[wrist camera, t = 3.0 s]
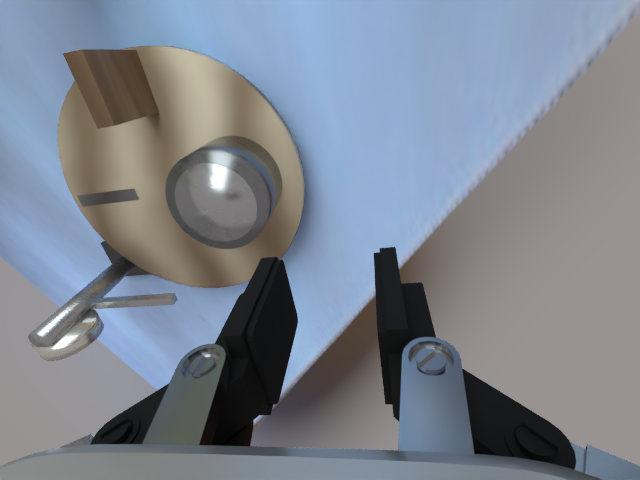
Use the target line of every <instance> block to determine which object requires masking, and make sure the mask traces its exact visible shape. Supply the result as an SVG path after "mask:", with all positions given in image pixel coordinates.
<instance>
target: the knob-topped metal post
mask: <svg viewBox="0 0 640 480" xmlns="http://www.w3.org/2000/svg"><path fill="white" fill-rule="evenodd" d="M101 245H102V246H103V248H104V250H105V252H106V254H107V256H108V257H109V259H110V261H111V263H112V265H111V266H109V267H108V268H107V269H106V270H105V271H103V272H102V273H101V274H100V275H99V276H98V277H96V278H95V279H94V280H93V281H92V282H90V283H89V284H88V285H87V286H86V287H85V288H83V289H82V290H81V291H80V292H79V293H78V294H76V295H75V296H74V297H73V298H72V299H70V300H69V301H68V302H67V303H66V304H65V305H63V306H62V307H61V308H60V309H59V310H58V311H56V312H55V313H54V314H53V315H52V316H51V317H49V318H48V319H47V320H46V321H44V322H43V323H42V324H41V325H40V326H39V327H37V328H36V329H35V330H34V331H33V332H32V333H30V334H29V336H28V338H29V340H30V342H31V343H32V346H33V347H34V349H35V350H36V351H37V353H38V354H39V355H40V356H41V358H42V359H44V360H46V361H55V360H60V359H63V358H66V357H69V356H71V355H73V354H75V353H77V352H79V351H81V350H82V349H84V348H86V347H87V346H88V345H90V344H91V343H92V342H93V341H95V340H96V339H97V338H98V336H99V335H100V334H101V332H102V330H103V328H104V324H103V322H102V320H101V319H100V317H99V315H98V314H97V312H96V311H95V310H93V309H102V308H119V307H137V306H154V305H172V304H175V302H176V301H177V300H178V299H177V297H176V295H175V293H172V294H156V295H140V296H125V297H109V298H103V297H104V296H105V295H106V294H107V293H108V292H109V291H110V290H111V289H112V288H113V287H115V286H116V285H117V284H118V283H119V282H120V281H121V280H122V279H123V278H124V277H125V276H133V275H146V274H151V273H149V272H147V271H145V270H144V269H142V268H140V267H138V266H137V265H135V264H133V263H132V262H130V261H129V260H127V259H126V258H125V257H123V256H122V255H121V254H119V253H118V252H117V251H116V250H114V249H113V248H112V247H111V246H110V245H109V244H108V243H107V242H106V241H103V242H102V243H101Z"/></svg>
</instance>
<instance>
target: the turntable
mask: <svg viewBox="0 0 640 480" xmlns="http://www.w3.org/2000/svg"><path fill="white" fill-rule="evenodd" d="M63 55H64V57H65V59H66V61H67V63H68V66H69V68H70V70H71V72H72V74H73V76H74V79H75V82H74V83H73V85H72V86H71V88H70V90H69V92H68V93H67V95H66V98H65V101H64V103H63V106H62V109H61V113H60V119H59V124H58V148H59V157H60V161H61V166H62V170H63V174H64V176H65V179H66V182H67V185H68V187H69V190H70V192H71V194H72V196H73V198H74V200H75V202H76V204H77V205H78V207H79V208H80V210H81V212H82V213H83V215H84V216H85V218H86V219H87V220H88V222H89V223H90V224H91V226H92V227H93V228H94V229H95V230H96V232H97V233H98V234H99V235H100V236H101V237H102V238H103V239H104V240H105V241H106V242H107V243H108V244H109V245H110V246H111V247H112V248H113V249H114V250H116V251H117V252H118V253H119V254H121V255H122V256H123V257H125V258H126V259H127V260H129V261H130V262H132V263H133V264H135V265H137V266H138V267H140V268H142V269H144V270H145V271H147V272H149V273H151V274H153V275H156V276H158V277H160V278H163V279H165V280H168V281H172V282H175V283H178V284H183V285H188V286H193V287H203V288H219V287H227V286H233V285H237V284H241V283H244V282H246V281H249V280H251V278H252V276H253V274H254V272H255V270H256V268H257V266H258V264H259V262H260V260H261V258H266V257H278V259H280V258H281V257H282V256H283V255H284V254H285V252H286V251H287V249H288V248H289V246H290V245H291V243H292V241H293V238H294V236H295V234H296V232H297V229H298V227H299V223H300V220H301V217H302V214H303V207H304V200H305V182H304V174H303V167H302V164H301V160H300V156H299V152H298V150H297V147H296V145H295V142H294V140H293V137H292V135H291V133H290V131H289V130H288V128H287V126H286V124H285V122H284V120H283V119H282V117H281V116H280V115H279V113H278V112H277V110H276V109H275V108H274V106H273V105H272V104H271V102H270V101H269V100H268V99H267V98H266V97H265V96H264V95H263V94H262V93H261V91H260V90H259V89H258V88H256V87H255V86H254V85H253V84H252V83H251V82H249V81H248V80H247V79H246V78H245V77H244V76H242V75H241V74H239V73H238V72H236V71H235V70H233V69H232V68H230V67H229V66H227V65H225V64H223V63H221V62H219V61H217V60H215V59H213V58H211V57H209V56H206V55H203V54H201V53H198V52H195V51H192V50H187V49H182V48H177V47H168V46H139V47H131V48H126V49H122V50H78V51H73V52H69V53H64V54H63ZM223 136H240V137H245V138H248V139H250V140H252V141H254V142H256V143H258V144H259V145H261V146H262V147H263V148H264V149H266V150H267V151H268V152H269V154H270V155H271V156H272V157H273V159H274V160H275V162H276V164H277V165H278V168H279V170H280V173H281V178H282V193H281V197H280V200H279V202H278V204H277V206H276V208H275V209H274V211H273V213H272V215H271V216H270V218H269V220H268V222H267V223H266V225H265V227H264V229H263V230H262V232H261V234H260V235H259V236H258V237H257V238H256V239H255V240H254V241H252V242H251V243H249V244H247V245H245V246H243V247H239V248H235V249H219V248H214V247H210V246H207V245H205V244H202V243H200V242H199V241H197V240H195V239H194V238H192V237H191V236H189V235H188V234H187V233H186V232H185V231H184V230H183V229H182V228H181V227H180V226H179V225H178V224H177V222H176V221H175V219H174V218H173V216H172V214H171V212H170V210H169V207H168V205H167V201H166V194H165V187H166V181H167V177H168V175H169V172H170V171H171V169H172V167H173V166H174V165H175V164H176V163H177V162H178V161H179V160H180V159H182V158H184V157H185V156H187V155H189V154H190V153H192V152H194V151H195V150H197V149H199V148H200V147H202V146H204V145H205V144H207V143H209V142H211V141H212V140H214V139H216V138H219V137H223Z"/></svg>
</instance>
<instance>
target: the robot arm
mask: <svg viewBox="0 0 640 480" xmlns="http://www.w3.org/2000/svg"><path fill="white" fill-rule="evenodd" d="M374 266H375V288H376V309H377V329H378V340H379V349H380V358H381V367H382V377H383V386H384V395H385V404H393V414H394V417H395V418H396V419H397V420H398V421H399V442H398V443H399V444H398V451H393V450H362V449H328V448H293V447H254V446H253V447H252V446H250V444H251V438H252V432H253V420H254V419H255V418H256V417H258V416H259V415H271V411H272V407H273V404H277V403H278V401H279V398H280V394H281V390H282V386H283V381H284V377H285V373H286V369H287V365H288V361H289V357H290V353H291V349H292V345H293V341H294V337H295V332H296V328H297V324H298V318H297V312H296V309H295V305H294V301H293V297H292V293H291V289H290V285H289V281H288V277H287V273H286V269H285V265H284V262H283V260H279V259H278V257H266V258H261V260H260V262H259V264H258V266H257V268H256V270H255V272H254V274H253V276H252V278H251V280H250V282H249V284H248V286H247V288H246V290H245V292H244V293H243V294H241V295H240V296H239V297H238V299H237V301H236V303H235V305H234V307H233V309H232V311H231V313H230V315H229V317H228V319H227V321H226V323H225V325H224V327H223V329H222V331H221V333H220V335H219V337H218V339H217V341H216V343H215V344H206V345H202V346H199V347H197V348H195V349H193V350H192V351H190V352H189V353H187V354H186V355H185V356H184V357H183V358H182V359H181V361H180V362H179V364H178V366H177V368H176V370H175V372H174V375H173V377H172V379H171V381H170V383H169V384H167V385H166V386H164V387H163V388H161V389H159V390H158V391H156V392H155V393H153V394H151V395H150V396H148V397H147V398H145V399H143V400H142V401H140V402H139V403H137V404H135V405H134V406H132V407H130V408H129V409H127V410H125V411H124V412H123V413H121V414H119V415H117V416H116V417H115V418H113V419H111V420H110V421H109V422H107V423H106V424H105V425H104V426H103V427H102V428H101V429H100V430H99V431H98V432H97V434H96V435H95V437H93V436H92V435H91V434H90V435H88V436H85V437H83V438H81V439H79V440H76V441H74V442H72V443H69V444H67V445H65V446H63V447H60V448H57V449H51V450H47V451H43V452H39V453H35V454H31V455H28V456H25V457H22V458H19V459H17V460H14V461H11V462H8V463H6V464H4V465H2V466H0V480H640V466H638V465H636V464H633V463H631V462H628V461H626V460H623V459H621V458H619V457H616V456H614V455H611V454H609V453H607V452H604V451H602V450H599V449H597V448H594V447H592V446H590V445H587V447H586V449H584V448H582V447H580V446H577V445H575V444H573V443H570V442H569V440H568V439H567V438H566V436H565V435H564V434H563V433H562V432H561V431H560V430H559V429H558V428H556V427H555V426H554V425H552V424H551V423H550V422H548V421H547V420H545V419H543V418H542V417H540V416H539V415H537V414H535V413H534V412H532V411H530V410H529V409H527V408H526V407H524V406H522V405H521V404H519V403H518V402H516V401H514V400H513V399H511V398H509V397H508V396H506V395H504V394H503V393H501V392H500V391H498V390H496V389H495V388H493V387H491V386H490V385H488V384H487V383H485V382H483V381H482V380H480V379H478V378H477V377H475V376H474V375H472V374H470V373H469V372H467V371H465V370H464V369H462V364H461V359H460V356H459V353H458V351H457V350H456V349H455V348H454V346H452V345H451V344H449V343H448V342H447V341H444V340H442V339H439V338H436V336H435V332H434V328H433V324H432V320H431V316H430V312H429V308H428V304H427V300H426V296H425V292H424V288H423V284H422V283H406V284H401V281H400V274H399V268H398V261H397V255H396V249H395V247H391V248H380V252H379V253H374Z"/></svg>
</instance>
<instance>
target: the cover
mask: <svg viewBox="0 0 640 480" xmlns="http://www.w3.org/2000/svg"><path fill="white" fill-rule="evenodd" d="M281 193H282V178H281V173H280V170H279V168H278V165H277V164H276V162H275V160H274V159H273V157H272V156H271V155H270V154H269V152H268V151H267V150H266V149H264V148H263V147H262V146H261V145H259V144H258V143H256V142H254V141H252V140H250V139H248V138H245V137H240V136H223V137H219V138H216V139H214V140H212V141H211V142H209V143H207V144H205V145H204V146H202V147H200V148H199V149H197V150H195V151H194V152H192V153H190V154H189V155H187V156H185V157H184V158H182V159H180V160H179V161H178V162H177V163H176V164H175V165H174V166H173V167H172V169H171V171H170V172H169V175H168V177H167V181H166V187H165V194H166V201H167V205H168V207H169V210H170V212H171V214H172V216H173V218H174V219H175V221H176V222H177V224H178V225H179V226H180V227H181V228H182V229H183V230H184V231H185V232H186V233H187V234H188V235H189V236H191V237H192V238H194V239H195V240H197V241H199V242H200V243H202V244H205V245H207V246H210V247H214V248H219V249H235V248H239V247H243V246H245V245H247V244H249V243H251V242H252V241H254V240H255V239H256V238H257V237H258V236H259V235H260V234H261V232H262V230H263V229H264V227H265V225H266V223H267V222H268V220H269V218H270V216H271V215H272V213H273V211H274V209H275V208H276V206H277V204H278V202H279V200H280V197H281Z"/></svg>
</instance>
